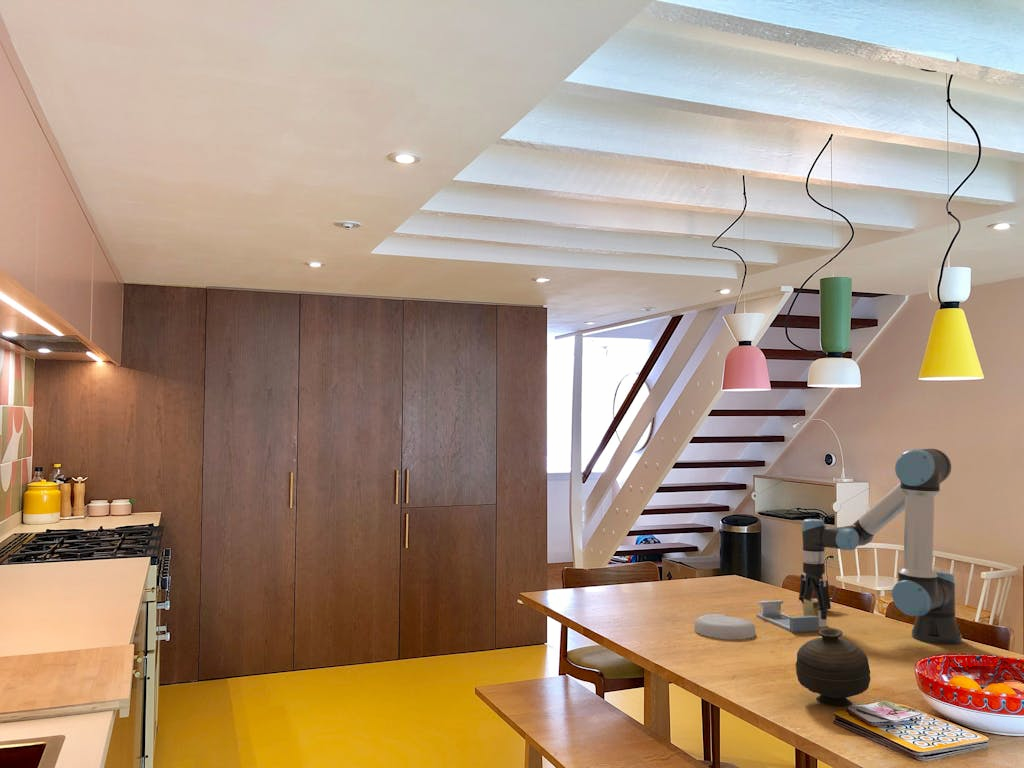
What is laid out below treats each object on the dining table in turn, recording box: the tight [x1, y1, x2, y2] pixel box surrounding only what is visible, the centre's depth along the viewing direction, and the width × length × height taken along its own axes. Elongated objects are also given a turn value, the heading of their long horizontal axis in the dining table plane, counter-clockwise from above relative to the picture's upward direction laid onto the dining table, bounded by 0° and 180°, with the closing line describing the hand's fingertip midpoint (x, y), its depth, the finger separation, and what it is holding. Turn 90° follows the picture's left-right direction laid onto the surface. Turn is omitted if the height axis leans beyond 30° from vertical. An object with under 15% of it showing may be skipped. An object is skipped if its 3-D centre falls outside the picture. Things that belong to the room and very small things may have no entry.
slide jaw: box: [757, 599, 784, 616], centre depth 310 cm, size 2×9×5 cm, turn 102°
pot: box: [794, 627, 871, 708], centre depth 212 cm, size 18×18×20 cm
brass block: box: [804, 598, 820, 616], centre depth 301 cm, size 6×5×9 cm
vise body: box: [756, 612, 820, 633], centre depth 299 cm, size 25×10×6 cm, turn 12°
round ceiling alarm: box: [694, 613, 756, 640], centre depth 286 cm, size 25×25×6 cm
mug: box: [810, 583, 838, 602], centre depth 327 cm, size 12×9×10 cm
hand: (814, 624), depth 300 cm, fingers open, 9 cm apart
